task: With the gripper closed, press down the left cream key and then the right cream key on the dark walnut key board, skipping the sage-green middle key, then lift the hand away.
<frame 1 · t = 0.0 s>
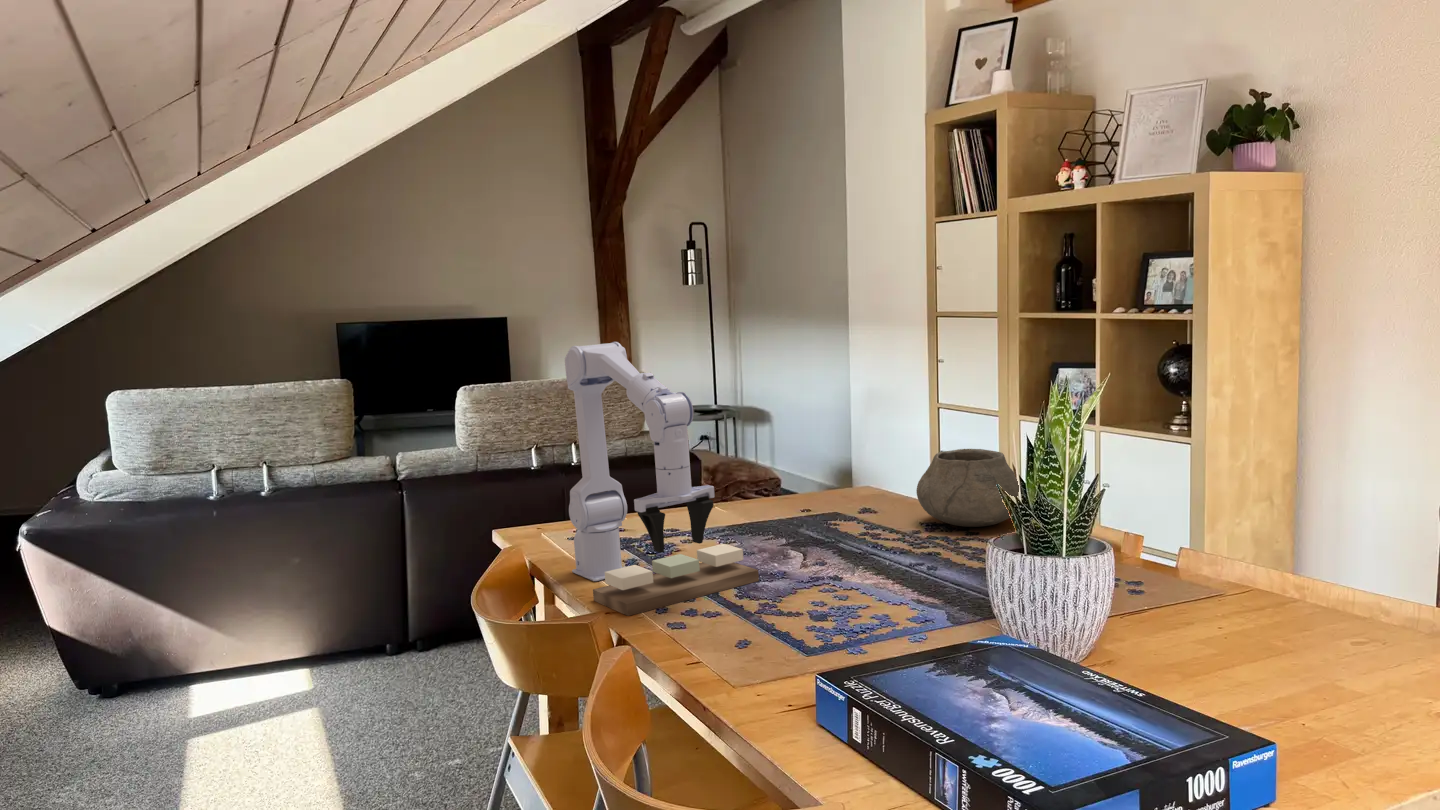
hand: (678, 546, 174), 10 cm above the table, tool pointing down, fingers open, 7 cm apart
key board: (677, 590, 184), on the table
key 2: (719, 554, 189), point 4 cm above the table, slide at 0.0 cm
clay pot: (971, 525, 218), on the table
key 1: (628, 577, 178), point 4 cm above the table, slide at 0.0 cm
key middle: (675, 565, 183), point 4 cm above the table, slide at 0.0 cm
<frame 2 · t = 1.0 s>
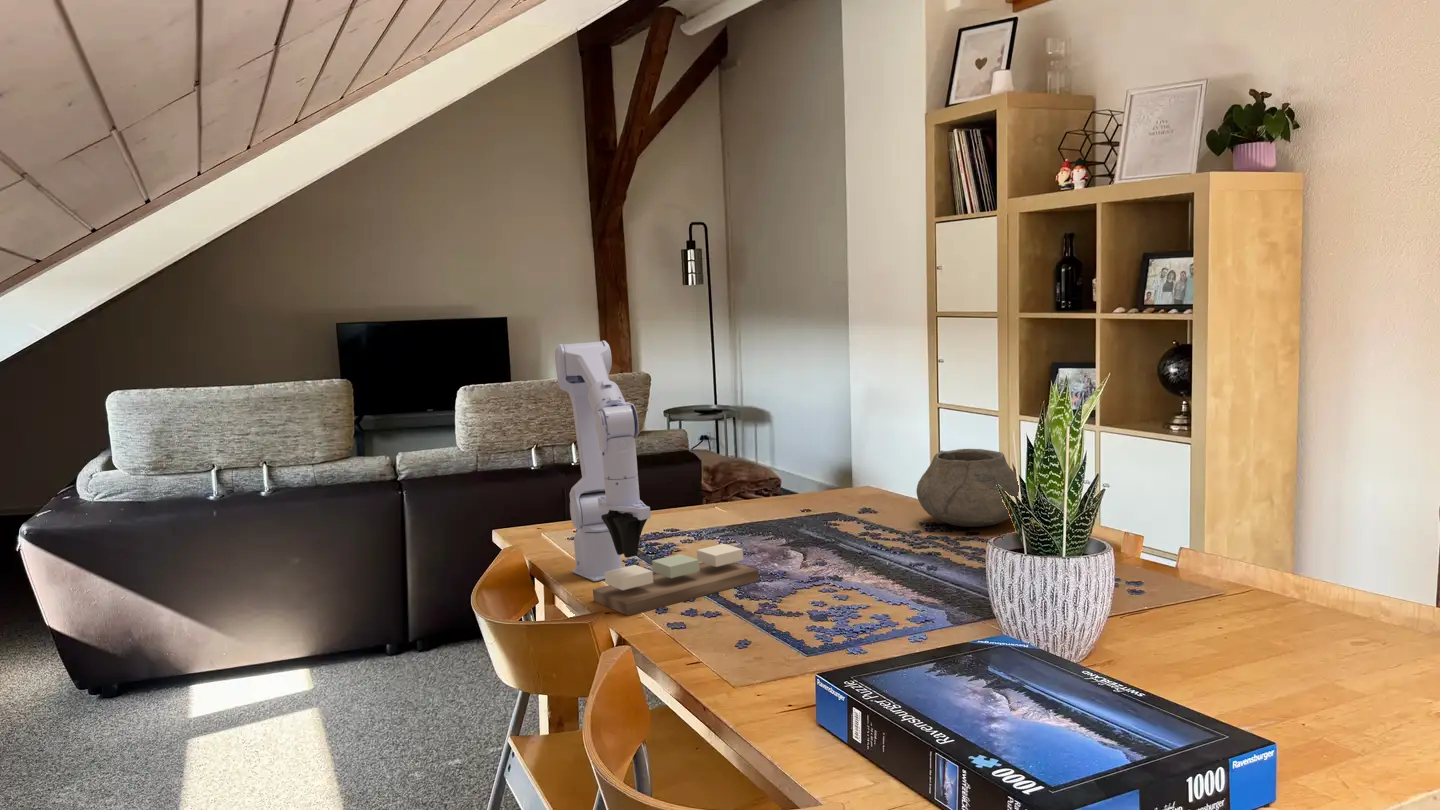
hand: (627, 554, 178), 8 cm above the table, tool pointing down, fingers closed
nothing on the table moved.
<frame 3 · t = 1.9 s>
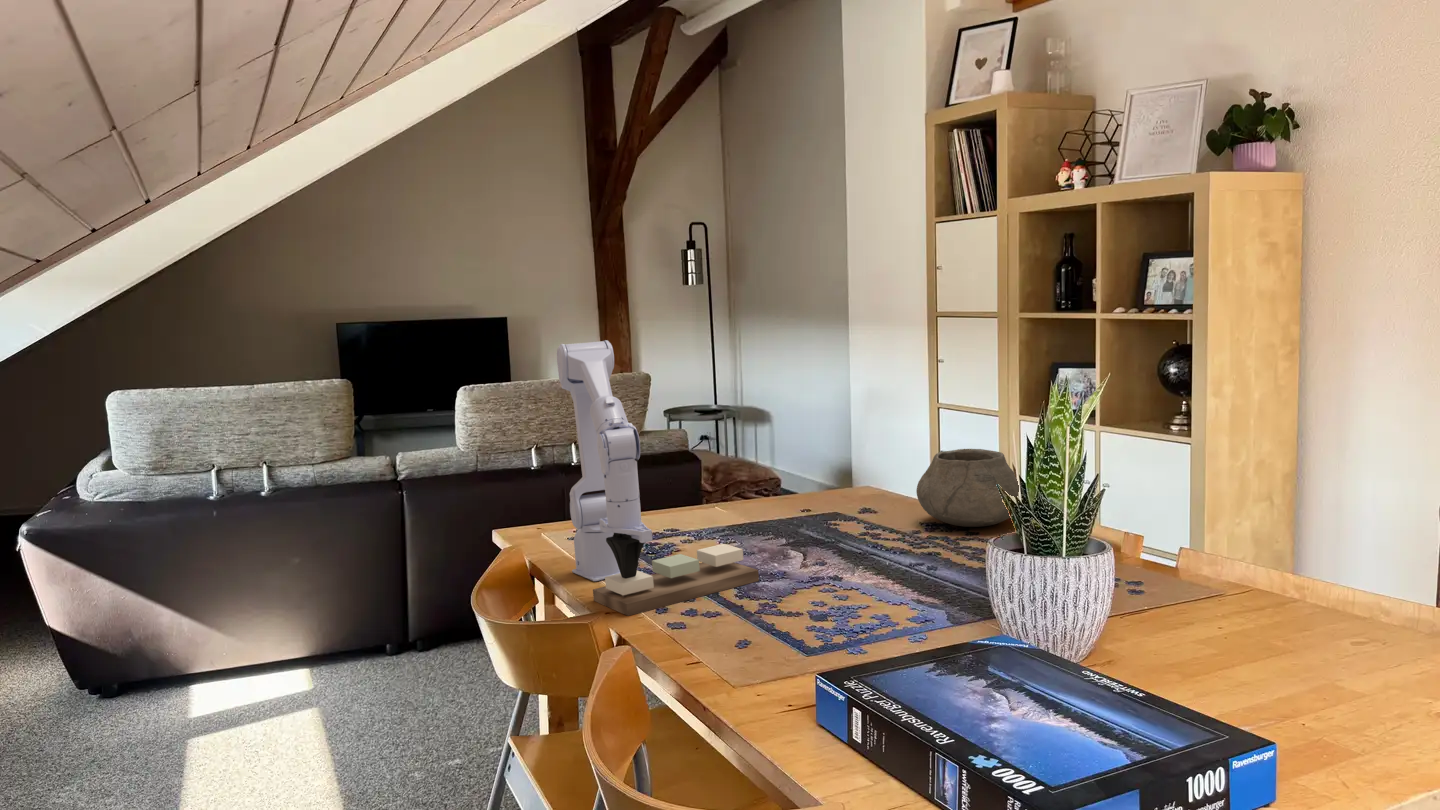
hand: (628, 576, 178), 5 cm above the table, tool pointing down, fingers closed, pressing on key 1
key 1: (629, 582, 178), point 4 cm above the table, slide at 0.9 cm, touching gripper
everything else where it was.
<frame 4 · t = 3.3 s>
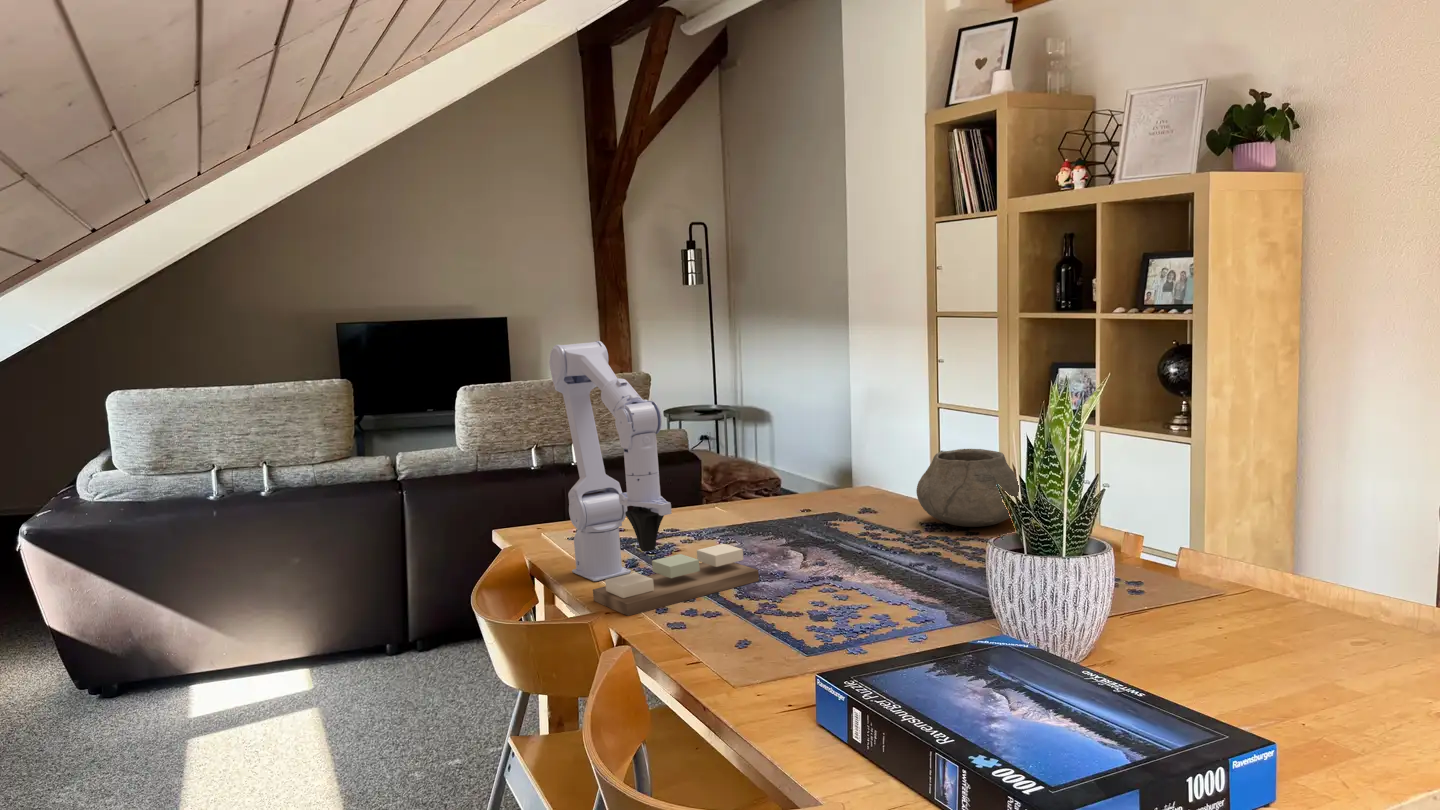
hand: (647, 550, 180), 8 cm above the table, tool pointing down, fingers closed
key 1: (629, 585, 178), point 3 cm above the table, slide at 1.4 cm
everything else where it was.
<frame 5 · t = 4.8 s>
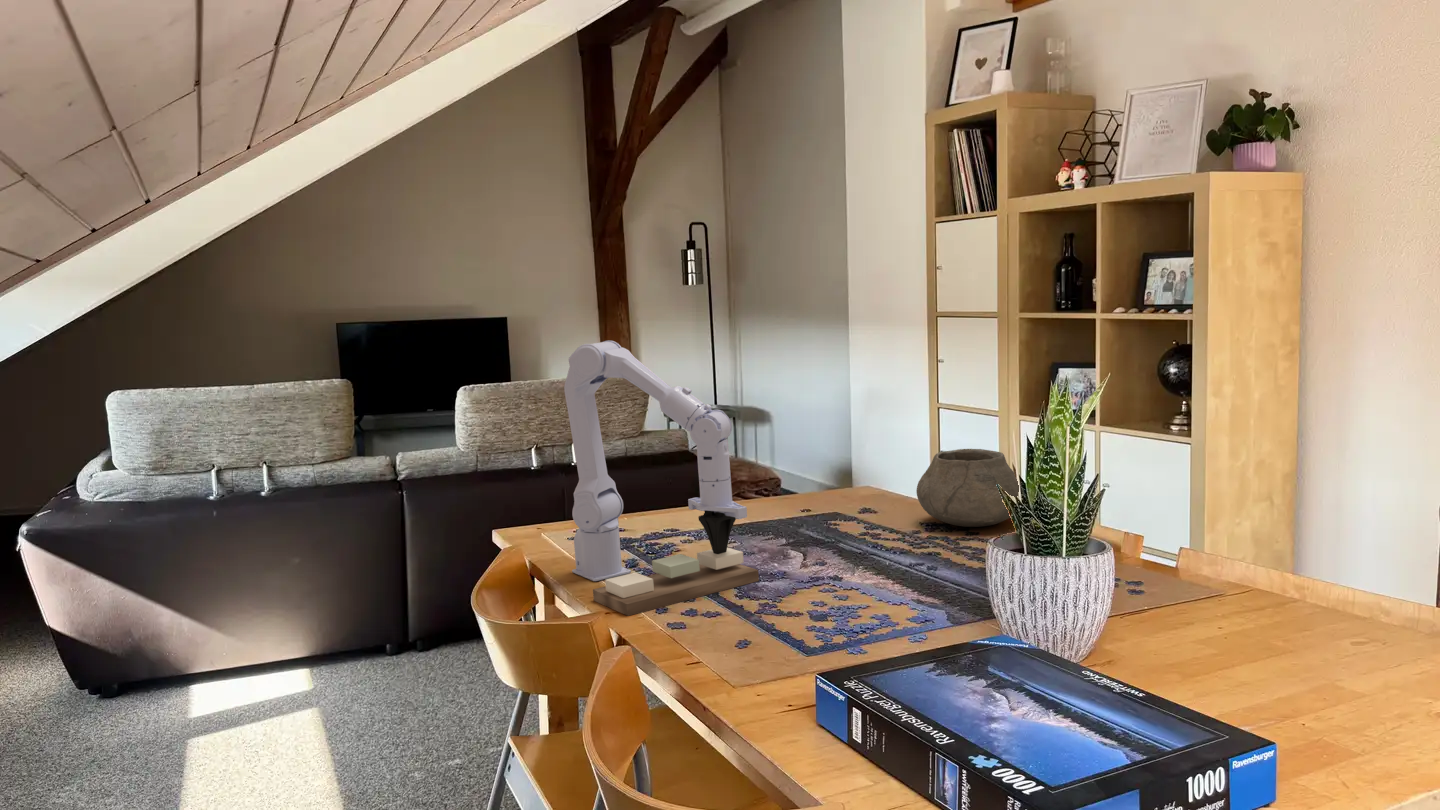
hand: (720, 552, 189), 5 cm above the table, tool pointing down, fingers closed, pressing on key 2
key 2: (720, 557, 189), point 4 cm above the table, slide at 0.5 cm, touching gripper
everything else where it was.
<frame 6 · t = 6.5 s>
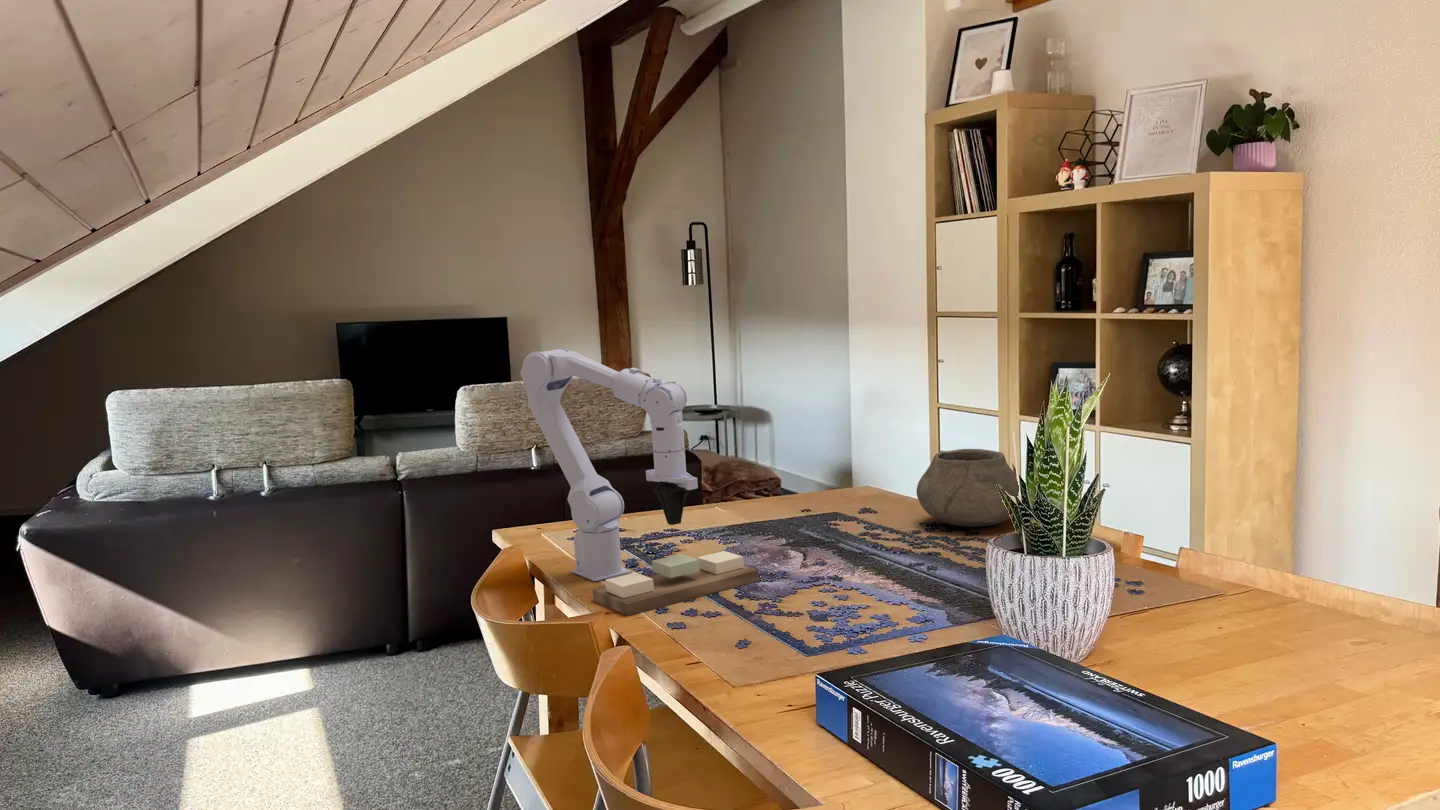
hand: (674, 523, 190), 10 cm above the table, tool pointing down, fingers closed
key 2: (720, 562, 189), point 3 cm above the table, slide at 1.4 cm
everything else where it was.
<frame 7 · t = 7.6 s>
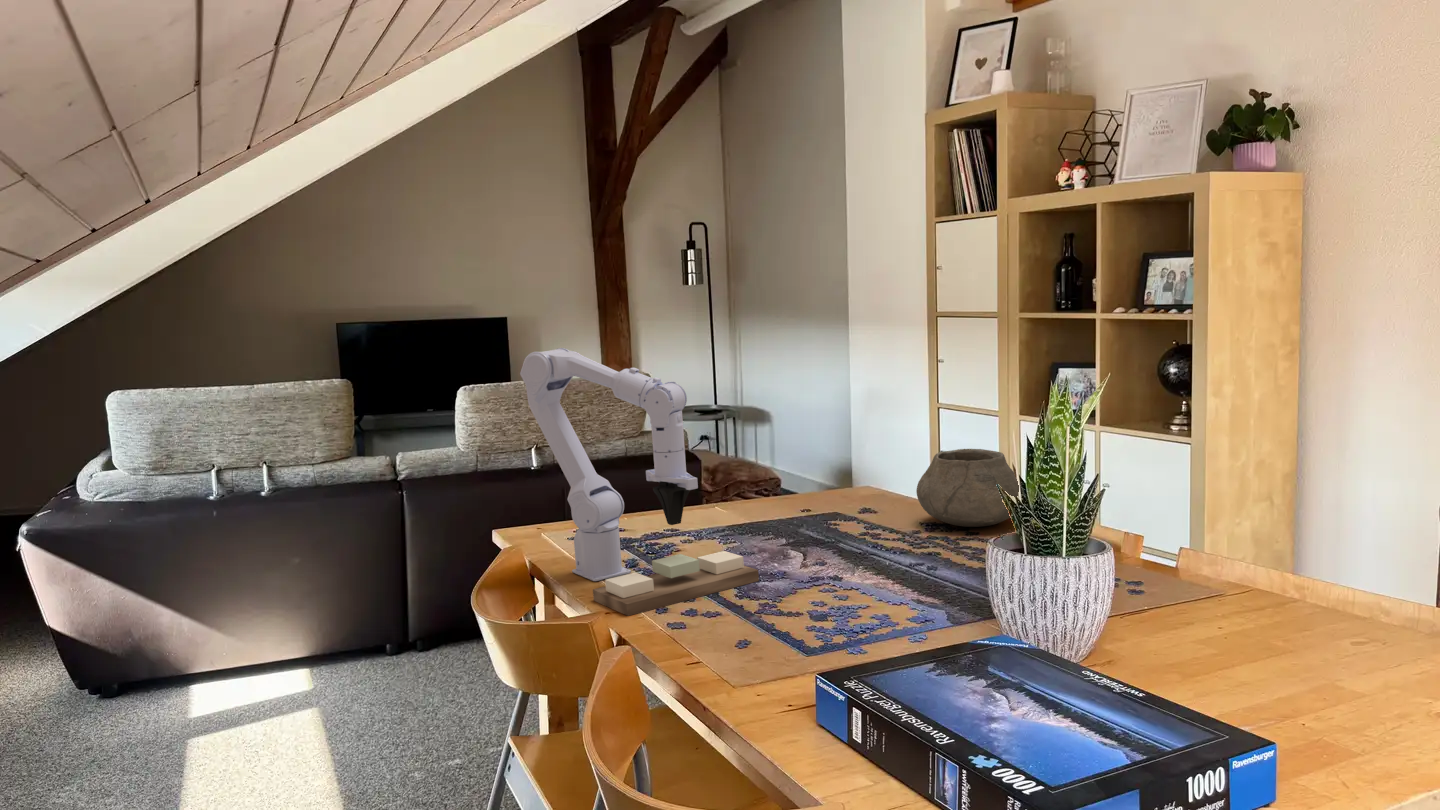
hand: (674, 523, 190), 10 cm above the table, tool pointing down, fingers closed
nothing on the table moved.
at the end: key 1 slide at 1.4 cm; key 2 slide at 1.4 cm; key middle slide at 0.0 cm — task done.
